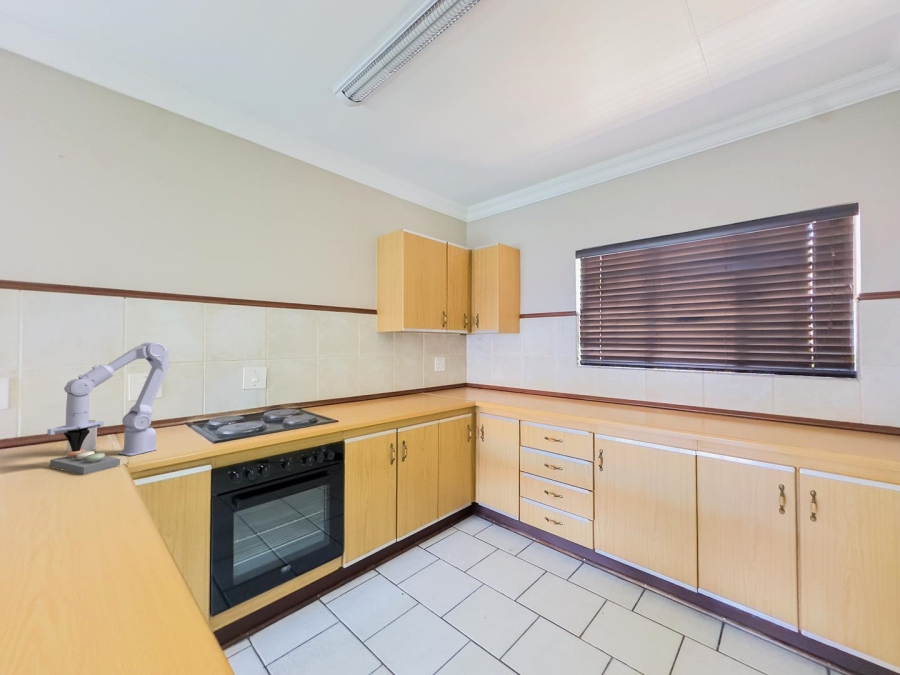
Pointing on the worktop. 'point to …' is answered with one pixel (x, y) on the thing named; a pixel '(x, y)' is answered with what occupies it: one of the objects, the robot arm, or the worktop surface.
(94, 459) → the sage button
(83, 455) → the cream button
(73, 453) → the terracotta button
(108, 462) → the button panel
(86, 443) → the translucent white cylinder
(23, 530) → the worktop surface
